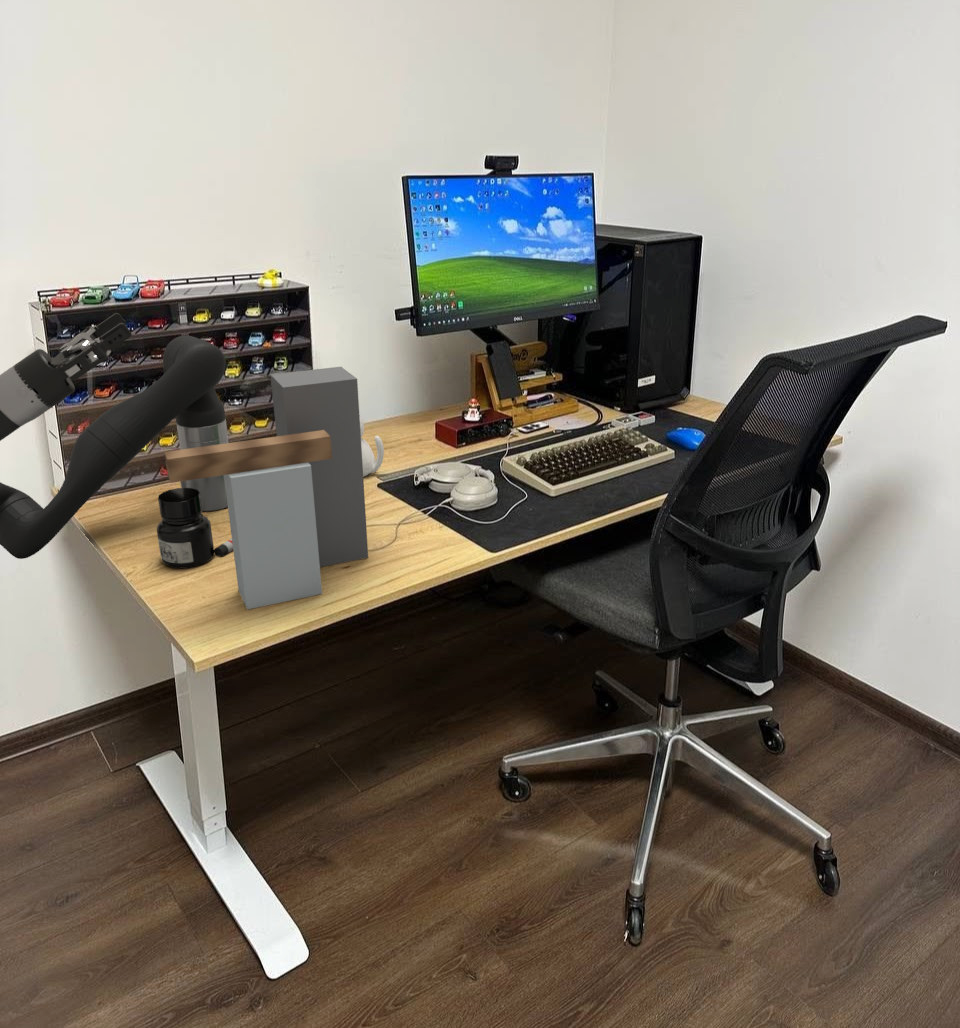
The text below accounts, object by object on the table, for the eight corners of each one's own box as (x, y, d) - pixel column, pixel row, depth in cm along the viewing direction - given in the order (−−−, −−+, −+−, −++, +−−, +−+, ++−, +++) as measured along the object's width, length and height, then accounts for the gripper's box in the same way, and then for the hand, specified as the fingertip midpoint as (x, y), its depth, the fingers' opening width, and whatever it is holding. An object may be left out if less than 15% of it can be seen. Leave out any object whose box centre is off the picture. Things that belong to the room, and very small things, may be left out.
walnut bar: (170, 482, 128) (167, 459, 127) (167, 474, 131) (164, 452, 130) (332, 458, 138) (330, 436, 136) (325, 451, 141) (324, 429, 139)
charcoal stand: (300, 570, 151) (283, 387, 138) (288, 550, 158) (270, 374, 146) (368, 557, 156) (357, 378, 143) (352, 538, 163) (341, 366, 150)
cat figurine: (337, 465, 199) (331, 400, 193) (391, 467, 197) (387, 402, 191) (324, 479, 191) (317, 412, 185) (380, 482, 189) (375, 414, 183)
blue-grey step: (247, 609, 139) (230, 478, 130) (238, 590, 145) (222, 463, 136) (322, 593, 143) (311, 465, 135) (310, 575, 149) (299, 452, 141)
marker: (223, 558, 156) (222, 548, 155) (214, 556, 157) (213, 546, 156) (277, 526, 169) (276, 516, 168) (269, 524, 170) (267, 515, 169)
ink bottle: (150, 559, 156) (139, 495, 151) (194, 542, 162) (185, 481, 157) (182, 575, 150) (172, 509, 145) (226, 557, 156) (217, 494, 151)
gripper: (48, 396, 136) (137, 334, 138) (50, 421, 124) (147, 353, 126) (12, 356, 132) (104, 294, 134) (10, 378, 120) (111, 309, 122)
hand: (125, 323), depth 130 cm, fingers open, 8 cm apart
